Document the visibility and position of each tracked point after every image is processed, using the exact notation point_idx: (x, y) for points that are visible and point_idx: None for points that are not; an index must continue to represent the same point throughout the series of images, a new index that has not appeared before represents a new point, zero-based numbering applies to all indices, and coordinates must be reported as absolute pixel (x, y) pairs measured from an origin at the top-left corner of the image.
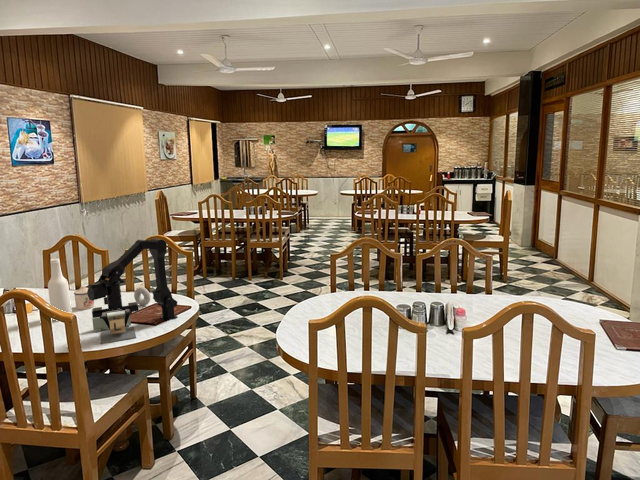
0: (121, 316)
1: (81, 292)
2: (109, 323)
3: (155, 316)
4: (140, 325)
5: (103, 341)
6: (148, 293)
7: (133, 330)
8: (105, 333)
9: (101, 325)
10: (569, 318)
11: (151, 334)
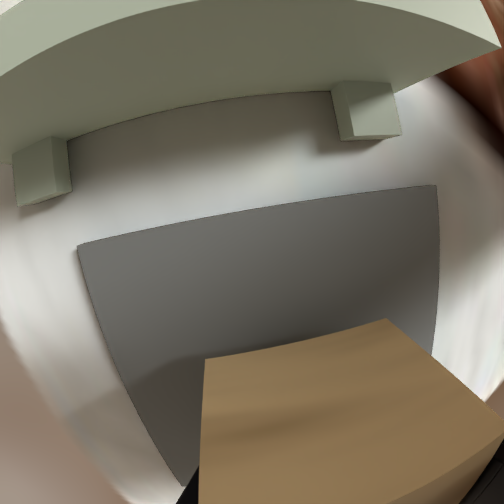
0: (449, 499)
1: None
2: (144, 90)
3: (493, 23)
4: (466, 150)
5: (190, 474)
6: None
7: (429, 306)
8: (143, 321)
9: (47, 127)
10: None
11: (484, 372)
